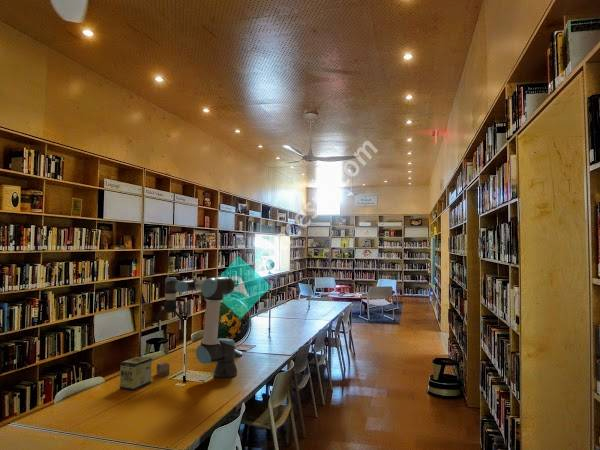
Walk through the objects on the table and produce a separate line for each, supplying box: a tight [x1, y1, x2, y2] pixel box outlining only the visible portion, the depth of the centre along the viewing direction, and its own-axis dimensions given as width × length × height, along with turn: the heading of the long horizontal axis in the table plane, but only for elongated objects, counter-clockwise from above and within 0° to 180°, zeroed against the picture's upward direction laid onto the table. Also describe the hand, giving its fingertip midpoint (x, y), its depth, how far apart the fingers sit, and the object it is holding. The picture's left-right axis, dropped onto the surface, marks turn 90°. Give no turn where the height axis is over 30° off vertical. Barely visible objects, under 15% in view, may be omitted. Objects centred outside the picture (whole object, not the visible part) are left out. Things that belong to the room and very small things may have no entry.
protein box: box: [119, 356, 153, 392], centre depth 248 cm, size 10×16×16 cm
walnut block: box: [156, 361, 171, 377], centre depth 270 cm, size 6×6×7 cm
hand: (170, 329), depth 290 cm, fingers open, 13 cm apart
